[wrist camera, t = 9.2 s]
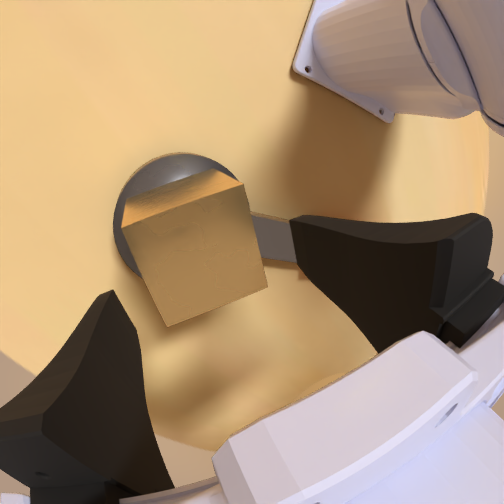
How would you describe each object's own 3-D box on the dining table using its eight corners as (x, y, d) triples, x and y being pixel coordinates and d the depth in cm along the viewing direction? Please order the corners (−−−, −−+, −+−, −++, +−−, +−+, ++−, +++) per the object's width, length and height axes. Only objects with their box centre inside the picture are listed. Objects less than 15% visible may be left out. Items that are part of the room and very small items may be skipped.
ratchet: (391, 215, 24) (431, 233, 20) (358, 295, 26) (392, 322, 22) (130, 139, 15) (126, 142, 11) (107, 268, 17) (101, 309, 13)
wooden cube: (213, 168, 16) (243, 183, 11) (234, 247, 18) (267, 286, 14) (126, 198, 15) (121, 227, 10) (157, 276, 17) (167, 327, 13)
